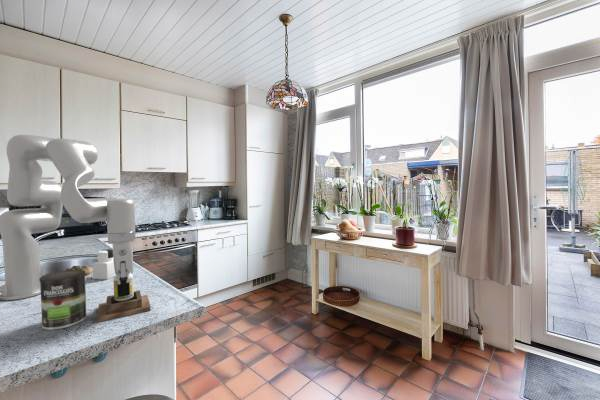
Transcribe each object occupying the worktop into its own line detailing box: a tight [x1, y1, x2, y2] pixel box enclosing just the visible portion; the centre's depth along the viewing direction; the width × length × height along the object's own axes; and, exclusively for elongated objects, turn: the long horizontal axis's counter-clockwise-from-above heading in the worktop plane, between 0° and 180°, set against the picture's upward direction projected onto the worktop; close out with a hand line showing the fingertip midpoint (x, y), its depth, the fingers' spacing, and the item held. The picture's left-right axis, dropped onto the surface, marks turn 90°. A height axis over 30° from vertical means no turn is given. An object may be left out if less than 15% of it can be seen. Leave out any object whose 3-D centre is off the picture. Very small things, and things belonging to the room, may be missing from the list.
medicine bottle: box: [91, 248, 117, 281], centre depth 123 cm, size 7×7×12 cm
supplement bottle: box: [113, 271, 134, 301], centre depth 90 cm, size 5×5×10 cm
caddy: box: [96, 290, 152, 323], centre depth 91 cm, size 14×12×4 cm
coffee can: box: [39, 269, 88, 331], centre depth 82 cm, size 10×10×14 cm
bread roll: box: [64, 265, 93, 276], centre depth 127 cm, size 11×11×5 cm
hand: (123, 292), depth 90 cm, fingers closed on supplement bottle, 5 cm apart
